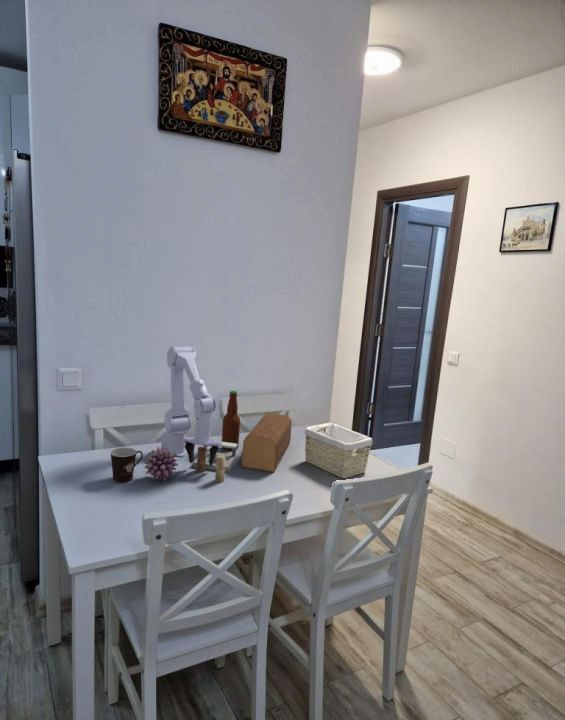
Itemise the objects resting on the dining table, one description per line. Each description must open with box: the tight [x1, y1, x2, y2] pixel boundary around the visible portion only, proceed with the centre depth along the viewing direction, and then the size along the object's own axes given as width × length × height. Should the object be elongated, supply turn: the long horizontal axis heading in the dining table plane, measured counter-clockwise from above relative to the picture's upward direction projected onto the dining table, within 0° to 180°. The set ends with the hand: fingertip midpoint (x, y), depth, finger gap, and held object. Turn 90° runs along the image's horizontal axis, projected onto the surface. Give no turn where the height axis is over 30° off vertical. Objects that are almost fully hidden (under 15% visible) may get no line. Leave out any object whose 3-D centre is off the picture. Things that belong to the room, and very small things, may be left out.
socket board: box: [192, 441, 239, 473], centre depth 189 cm, size 14×13×7 cm
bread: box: [241, 412, 293, 473], centre depth 201 cm, size 14×34×14 cm, turn 169°
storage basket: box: [304, 422, 373, 479], centre depth 195 cm, size 24×16×15 cm
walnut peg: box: [196, 446, 206, 473], centre depth 180 cm, size 3×3×9 cm
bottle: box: [221, 390, 241, 451], centre depth 205 cm, size 7×7×25 cm
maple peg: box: [214, 455, 226, 483], centre depth 173 cm, size 3×3×9 cm
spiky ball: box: [143, 446, 179, 481], centre depth 170 cm, size 12×12×12 cm
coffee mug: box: [110, 447, 144, 484], centre depth 169 cm, size 12×9×10 cm
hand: (201, 463), depth 181 cm, fingers open, 7 cm apart
